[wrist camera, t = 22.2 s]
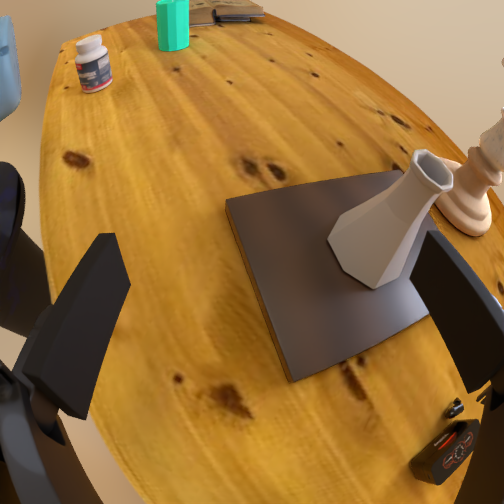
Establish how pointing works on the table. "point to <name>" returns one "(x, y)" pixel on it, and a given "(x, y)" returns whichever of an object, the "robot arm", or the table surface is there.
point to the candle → (173, 24)
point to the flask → (389, 222)
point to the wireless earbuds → (447, 448)
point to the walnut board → (319, 273)
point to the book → (221, 11)
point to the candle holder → (474, 182)
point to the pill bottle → (93, 64)
